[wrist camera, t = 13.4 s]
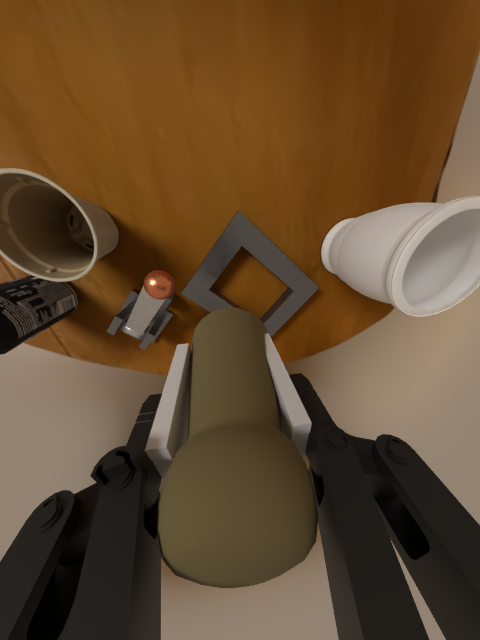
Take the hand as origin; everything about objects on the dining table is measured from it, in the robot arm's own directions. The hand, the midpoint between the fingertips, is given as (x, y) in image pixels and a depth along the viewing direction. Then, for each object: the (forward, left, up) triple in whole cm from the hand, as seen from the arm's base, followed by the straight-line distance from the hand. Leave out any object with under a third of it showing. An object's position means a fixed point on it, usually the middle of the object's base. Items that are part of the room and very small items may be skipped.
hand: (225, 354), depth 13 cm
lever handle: (-7, -12, -15) cm, 20 cm away
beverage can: (-19, -16, -19) cm, 31 cm away
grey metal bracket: (-7, -12, -19) cm, 24 cm away
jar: (+13, +17, -19) cm, 28 cm away
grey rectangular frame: (+4, +3, -19) cm, 20 cm away
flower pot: (-18, -4, -19) cm, 26 cm away
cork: (0, 0, -2) cm, 2 cm away
